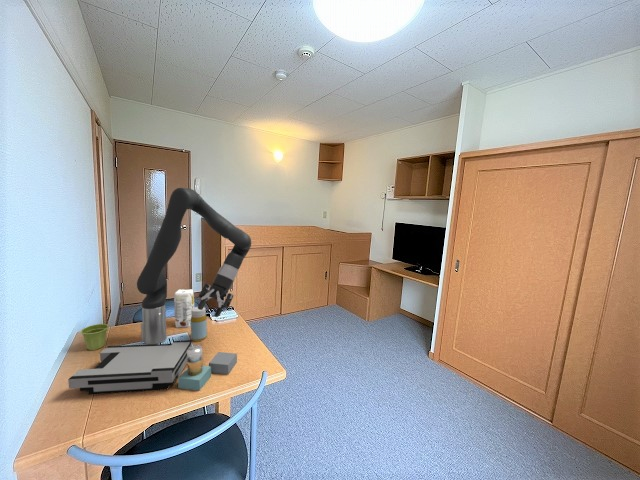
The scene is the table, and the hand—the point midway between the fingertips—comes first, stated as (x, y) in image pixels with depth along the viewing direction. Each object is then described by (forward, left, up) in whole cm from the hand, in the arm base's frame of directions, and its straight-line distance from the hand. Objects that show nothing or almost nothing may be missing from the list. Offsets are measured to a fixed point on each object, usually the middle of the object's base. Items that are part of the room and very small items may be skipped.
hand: (207, 313), depth 108 cm
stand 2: (+8, -3, -21) cm, 23 cm away
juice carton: (-29, +29, -21) cm, 46 cm away
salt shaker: (+2, -13, -17) cm, 22 cm away
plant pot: (-54, +2, -21) cm, 58 cm away
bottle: (-14, +17, -21) cm, 31 cm away
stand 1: (+2, -13, -21) cm, 25 cm away
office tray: (-21, -13, -22) cm, 33 cm away
